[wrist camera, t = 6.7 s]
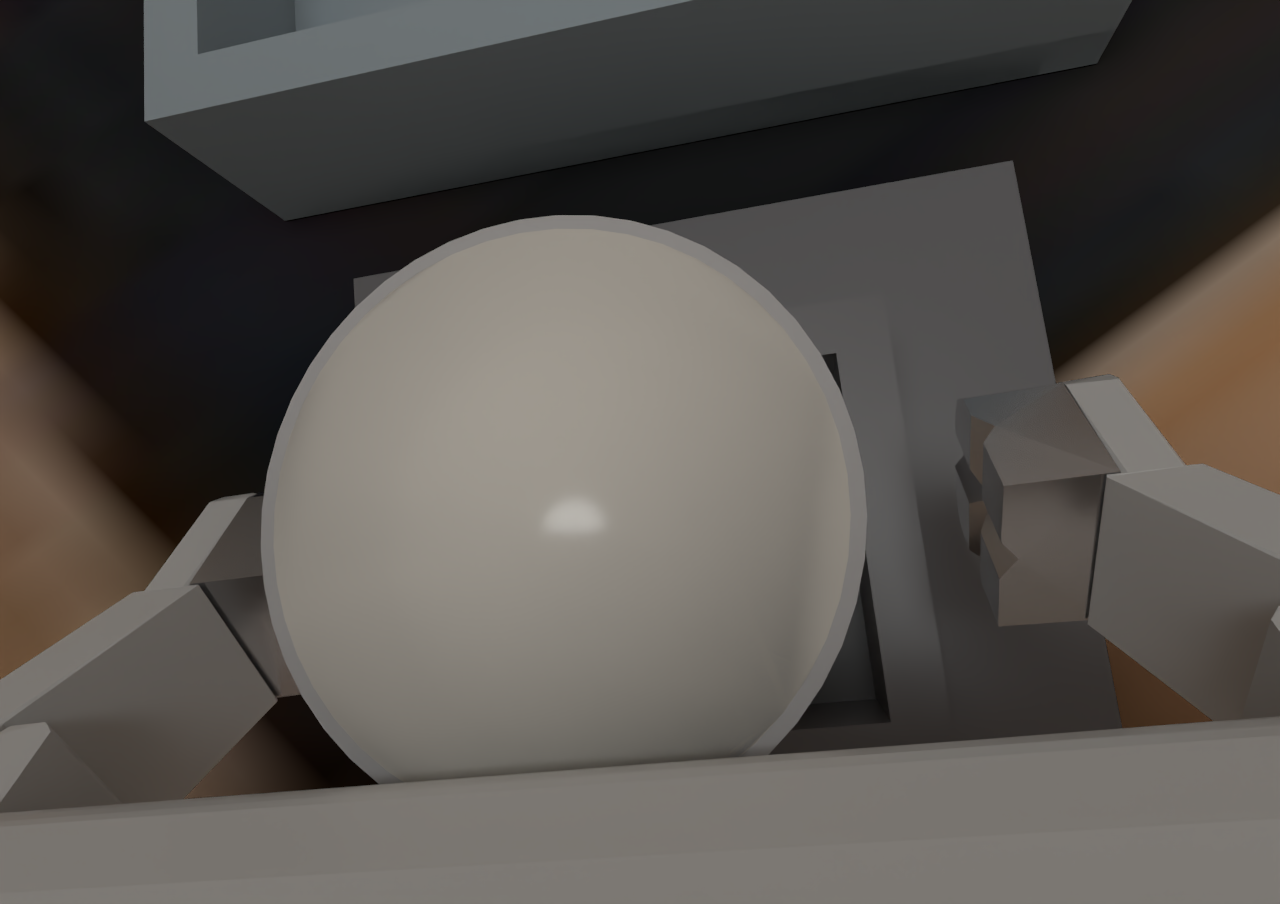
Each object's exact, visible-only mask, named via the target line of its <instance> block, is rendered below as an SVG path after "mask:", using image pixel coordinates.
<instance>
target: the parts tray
mask: <svg viewBox="0 0 1280 904" xmlns="http://www.w3.org/2000/svg"><path fill="white" fill-rule="evenodd" d="M1131 1H1132V0H144V118H145V122H146V123H147V124H149V125H150V126H152V127H153V128H155V129H156V130H157V131H159V132H160V133H162V134H163V135H164V136H166V137H167V138H169V139H170V140H171V141H173V142H174V143H176V144H177V145H179V146H180V147H181V148H183V149H184V150H186V151H187V152H188V153H190V154H191V155H193V156H194V157H196V158H197V159H198V160H200V161H201V162H203V163H204V164H205V165H207V166H208V167H210V168H211V169H213V170H214V171H215V172H217V173H218V174H220V175H221V176H222V177H224V178H225V179H227V180H228V181H230V182H231V183H232V184H234V185H235V186H237V187H238V188H239V189H241V190H242V191H244V192H245V193H246V194H248V195H249V196H251V197H252V198H254V199H255V200H256V201H258V202H259V203H261V204H262V205H263V206H265V207H266V208H268V209H269V210H271V211H272V212H273V213H275V214H276V215H278V216H279V217H280V218H282V219H283V220H285V221H287V220H292V219H297V218H302V217H308V216H313V215H318V214H323V213H328V212H333V211H339V210H344V209H349V208H354V207H359V206H364V205H370V204H375V203H380V202H385V201H390V200H395V199H400V198H406V197H411V196H416V195H421V194H426V193H431V192H437V191H442V190H447V189H452V188H457V187H462V186H468V185H473V184H478V183H483V182H488V181H493V180H498V179H504V178H509V177H514V176H519V175H524V174H529V173H535V172H540V171H545V170H550V169H555V168H560V167H566V166H571V165H576V164H581V163H586V162H591V161H596V160H602V159H607V158H612V157H617V156H622V155H627V154H633V153H638V152H643V151H648V150H653V149H658V148H664V147H669V146H674V145H679V144H684V143H689V142H695V141H700V140H705V139H710V138H715V137H720V136H725V135H731V134H736V133H741V132H746V131H751V130H756V129H762V128H767V127H772V126H777V125H782V124H787V123H793V122H798V121H803V120H808V119H813V118H818V117H823V116H829V115H834V114H839V113H844V112H849V111H854V110H860V109H865V108H870V107H875V106H880V105H885V104H891V103H896V102H901V101H906V100H911V99H916V98H921V97H927V96H932V95H937V94H942V93H947V92H952V91H958V90H963V89H968V88H973V87H978V86H983V85H989V84H994V83H999V82H1004V81H1009V80H1014V79H1019V78H1025V77H1030V76H1035V75H1040V74H1045V73H1050V72H1056V71H1061V70H1066V69H1071V68H1076V67H1081V66H1087V65H1092V64H1097V62H1098V61H1099V59H1100V57H1101V55H1102V53H1103V52H1104V50H1105V48H1106V46H1107V44H1108V43H1109V41H1110V39H1111V37H1112V35H1113V34H1114V32H1115V30H1116V28H1117V26H1118V25H1119V23H1120V21H1121V19H1122V17H1123V16H1124V14H1125V12H1126V10H1127V8H1128V7H1129V5H1130V3H1131Z"/></svg>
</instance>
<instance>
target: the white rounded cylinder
mask: <svg viewBox="0 0 1280 904" xmlns="http://www.w3.org/2000/svg"><path fill="white" fill-rule="evenodd" d="M866 528H867V507H866V494H865V482H864V471H863V466H862V462H861V457H860V453H859V448H858V444H857V439H856V435H855V430H854V427H853V425H852V422H851V419H850V416H849V414H848V411H847V408H846V406H845V403H844V400H843V397H842V395H841V392H840V389H839V388H838V386H837V384H836V382H835V380H834V378H833V376H832V374H831V373H830V371H829V369H828V367H827V365H826V363H825V361H824V359H823V357H822V356H821V354H820V352H819V351H818V349H817V348H816V347H815V345H814V344H813V342H812V341H811V340H810V338H809V337H808V336H807V334H806V333H805V331H804V330H803V329H802V327H801V326H800V324H799V323H798V322H797V320H796V319H795V318H794V317H793V316H792V315H791V314H790V313H789V312H788V311H787V310H786V309H785V308H784V307H783V306H782V304H781V303H780V302H779V301H778V300H777V299H776V298H775V297H774V296H773V295H772V294H771V293H770V292H769V291H768V290H767V289H766V288H764V287H763V286H762V285H761V284H759V283H758V282H757V281H756V280H754V279H753V278H752V277H751V276H749V275H748V274H747V273H746V272H744V271H743V270H742V269H741V268H739V267H738V266H737V265H735V264H733V263H731V262H730V261H728V260H726V259H725V258H723V257H721V256H720V255H718V254H716V253H715V252H713V251H711V250H710V249H708V248H706V247H705V246H703V245H700V244H698V243H696V242H693V241H691V240H689V239H686V238H684V237H682V236H679V235H677V234H674V233H672V232H670V231H667V230H663V229H660V228H656V227H652V226H649V225H645V224H642V223H638V222H634V221H630V220H623V219H615V218H608V217H601V216H587V215H554V216H546V217H538V218H530V219H521V220H516V221H512V222H508V223H504V224H500V225H496V226H492V227H488V228H484V229H481V230H479V231H476V232H474V233H471V234H468V235H466V236H463V237H461V238H458V239H455V240H453V241H450V242H448V243H446V244H444V245H442V246H440V247H438V248H437V249H435V250H433V251H431V252H429V253H427V254H425V255H423V256H422V257H420V258H418V259H416V260H414V261H413V262H412V263H410V264H409V265H407V266H406V267H404V268H403V269H401V270H400V271H399V272H397V273H396V274H394V275H393V276H391V277H390V278H389V279H387V280H386V281H384V282H383V283H382V284H381V285H380V286H379V287H378V288H377V289H375V290H374V291H373V292H372V293H371V294H370V295H369V296H368V297H366V298H365V299H364V300H363V301H362V302H361V303H360V304H359V305H357V306H356V307H355V309H354V310H353V311H352V312H351V313H350V314H349V315H348V316H347V318H346V319H345V320H344V321H343V322H342V323H341V324H340V325H339V327H338V328H337V329H336V330H335V331H334V332H333V333H332V334H331V336H330V337H329V339H328V340H327V342H326V343H325V344H324V346H323V347H322V349H321V350H320V352H319V353H318V354H317V356H316V357H315V359H314V360H313V362H312V363H311V364H310V366H309V368H308V370H307V372H306V373H305V375H304V377H303V379H302V381H301V383H300V385H299V386H298V388H297V390H296V392H295V394H294V396H293V397H292V399H291V402H290V404H289V407H288V409H287V412H286V414H285V417H284V419H283V422H282V424H281V427H280V429H279V432H278V435H277V438H276V442H275V446H274V449H273V453H272V457H271V460H270V464H269V468H268V472H267V478H266V485H265V492H264V498H263V505H262V520H261V558H262V569H263V580H264V589H265V593H266V598H267V603H268V607H269V612H270V617H271V622H272V626H273V628H274V631H275V634H276V637H277V640H278V643H279V646H280V649H281V652H282V655H283V657H284V660H285V663H286V665H287V667H288V669H289V671H290V673H291V675H292V677H293V679H294V681H295V683H296V685H297V687H298V689H299V691H300V693H301V695H302V697H303V698H304V700H305V701H306V703H307V704H308V706H309V707H310V709H311V710H312V712H313V713H314V715H315V716H316V718H317V719H318V721H319V722H320V724H321V725H322V727H323V728H324V730H325V731H326V732H327V733H328V734H329V735H330V737H331V738H332V739H333V740H334V741H335V742H336V743H337V745H338V746H339V747H340V748H341V749H342V750H343V751H344V753H345V754H346V755H347V756H348V757H349V758H350V759H351V760H352V761H353V762H354V763H355V764H356V765H358V766H359V767H360V768H361V769H362V770H363V771H365V772H366V773H367V774H368V775H369V776H370V777H371V778H373V779H374V780H375V781H376V782H377V783H378V784H391V783H404V782H417V781H430V780H443V779H456V778H470V777H483V776H496V775H509V774H522V773H535V772H548V771H561V770H575V769H588V768H601V767H614V766H627V765H640V764H653V763H666V762H680V761H693V760H707V759H720V758H734V757H748V756H761V755H769V754H770V753H771V751H772V750H773V749H774V748H775V747H776V746H777V745H778V744H779V743H780V741H781V740H782V739H783V738H784V737H785V736H786V735H787V734H788V733H789V731H790V730H791V729H792V728H793V727H794V726H795V725H796V724H797V722H798V721H799V719H800V718H801V716H802V715H803V714H804V712H805V711H806V709H807V708H808V706H809V705H810V703H811V702H812V700H813V699H814V697H815V696H816V694H817V693H818V691H819V690H820V688H821V687H822V685H823V683H824V681H825V679H826V677H827V675H828V673H829V671H830V669H831V667H832V665H833V663H834V661H835V659H836V657H837V655H838V653H839V651H840V649H841V647H842V645H843V642H844V639H845V636H846V633H847V630H848V627H849V624H850V621H851V618H852V615H853V612H854V609H855V606H856V603H857V598H858V593H859V587H860V582H861V577H862V572H863V566H864V561H865V547H866Z"/></svg>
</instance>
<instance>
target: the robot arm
mask: <svg viewBox="0 0 1280 904" xmlns="http://www.w3.org/2000/svg"><path fill="white" fill-rule="evenodd" d="M955 434H956V436H957V438H958V441H959V443H960V446H961V448H962V451H963V453H964V455H963V456H962V458H961V459H960V460H959V461H958V463H957V464H956V465H955V487H956V498H957V506H958V514H959V518H960V522H961V526H962V530H963V534H964V537H965V539H966V542H967V545H968V548H969V550H970V551H972V552H973V553H975V554H977V555H978V556H980V581H981V583H982V586H983V588H984V591H985V594H986V596H987V599H988V601H989V604H990V607H991V609H992V612H993V615H994V617H995V620H996V622H997V625H998V627H999V626H1013V625H1027V624H1042V623H1056V622H1070V621H1084V620H1088V625H1089V626H1091V627H1092V628H1093V629H1095V630H1096V631H1097V632H1099V633H1100V634H1101V635H1102V636H1104V637H1105V638H1106V639H1108V640H1109V641H1110V642H1111V643H1113V644H1114V645H1115V646H1117V647H1118V648H1119V649H1121V650H1122V651H1123V652H1124V653H1126V654H1127V655H1128V656H1130V657H1131V658H1132V659H1134V660H1135V661H1136V662H1137V663H1139V664H1140V665H1141V666H1143V667H1144V668H1145V669H1147V670H1148V671H1149V672H1150V673H1152V674H1153V675H1154V676H1156V677H1157V678H1158V679H1159V680H1161V681H1162V682H1163V683H1165V684H1166V685H1167V686H1169V687H1170V688H1171V689H1172V690H1174V691H1175V692H1176V693H1178V694H1179V695H1180V696H1182V697H1183V698H1184V699H1185V700H1187V701H1188V702H1189V703H1191V704H1192V705H1193V706H1194V707H1196V708H1197V709H1198V710H1200V711H1201V712H1202V713H1204V714H1205V715H1206V716H1207V717H1209V718H1210V719H1211V720H1213V721H1211V722H1197V723H1184V724H1171V725H1158V726H1145V727H1132V728H1120V729H1107V730H1094V731H1081V732H1068V733H1055V734H1043V735H1030V736H1017V737H1004V738H991V739H979V740H965V741H951V742H938V743H924V744H911V745H897V746H883V747H870V748H856V749H843V750H829V751H816V752H802V753H788V754H775V755H761V756H748V757H734V758H720V759H707V760H693V761H680V762H666V763H653V764H640V765H627V766H614V767H601V768H588V769H575V770H561V771H548V772H535V773H522V774H509V775H496V776H483V777H470V778H456V779H443V780H430V781H417V782H404V783H391V784H378V785H365V786H351V787H338V788H325V789H312V790H299V791H285V792H272V793H259V794H246V795H232V796H219V797H206V798H193V799H184V798H185V797H186V796H187V795H188V794H189V793H190V792H191V790H192V789H193V788H194V787H195V786H196V785H197V784H198V783H199V782H200V781H201V780H202V779H203V778H204V777H205V776H206V775H207V774H208V773H209V772H210V771H211V770H212V769H213V768H214V767H215V766H216V765H217V763H218V762H219V761H220V760H221V759H222V758H223V757H224V756H225V755H226V754H227V753H228V752H229V751H230V750H231V749H232V748H233V747H234V746H235V745H236V744H237V743H238V742H239V741H240V740H241V739H242V738H243V736H244V735H245V734H246V733H247V732H248V731H249V730H250V729H251V728H252V727H253V726H254V725H255V724H256V723H257V722H258V721H259V720H260V719H261V718H262V717H263V716H264V715H265V714H266V713H267V712H268V710H269V709H270V708H271V707H272V706H273V705H274V704H275V703H276V702H277V698H276V697H284V696H292V695H300V694H301V693H300V691H299V689H298V687H297V685H296V683H295V681H294V679H293V677H292V675H291V673H290V671H289V669H288V667H287V665H286V663H285V660H284V657H283V655H282V652H281V649H280V646H279V643H278V640H277V637H276V634H275V631H274V628H273V626H272V622H271V617H270V612H269V607H268V603H267V598H266V593H265V589H264V580H263V569H262V558H261V520H262V505H263V498H264V492H259V493H257V494H256V493H249V494H243V495H236V496H229V497H222V498H220V499H217V500H214V501H212V502H209V504H208V505H207V506H206V508H205V509H204V511H203V512H202V513H201V515H200V516H199V517H198V519H197V520H196V521H195V523H194V524H193V525H192V527H191V528H190V530H189V531H188V532H187V534H186V535H185V536H184V538H183V539H182V540H181V542H180V543H179V545H178V546H177V547H176V549H175V550H174V551H173V553H172V554H171V555H170V557H169V558H168V559H167V561H166V562H165V564H164V565H163V566H162V568H161V569H160V570H159V572H158V573H157V574H156V576H155V577H154V579H153V580H152V581H151V583H150V584H149V585H148V587H147V588H146V589H145V591H140V592H133V593H131V594H129V595H128V596H126V597H125V598H123V599H122V600H120V601H119V602H117V603H116V604H114V605H113V606H111V607H110V608H108V609H107V610H105V611H104V612H102V613H101V614H99V615H98V616H96V617H95V618H93V619H91V620H90V621H88V622H87V623H85V624H84V625H82V626H81V627H79V628H78V629H76V630H75V631H73V632H72V633H70V634H69V635H67V636H66V637H64V638H63V639H61V640H60V641H58V642H57V643H55V644H54V645H52V646H51V647H49V648H48V649H46V650H45V651H43V652H42V653H40V654H39V655H37V656H35V657H34V658H32V659H31V660H29V661H28V662H26V663H25V664H23V665H22V666H20V667H19V668H17V669H16V670H14V671H13V672H11V673H10V674H8V675H7V676H5V677H4V678H2V679H1V680H0V904H1280V495H1279V494H1276V493H1274V492H1271V491H1269V490H1266V489H1264V488H1261V487H1259V486H1257V485H1254V484H1252V483H1249V482H1247V481H1244V480H1242V479H1239V478H1237V477H1235V476H1232V475H1230V474H1227V473H1225V472H1222V471H1220V470H1217V469H1215V468H1212V467H1210V466H1208V465H1205V464H1195V465H1186V464H1185V463H1184V462H1183V461H1182V459H1181V458H1180V457H1179V455H1178V454H1177V453H1176V451H1175V450H1174V449H1173V448H1172V446H1171V445H1170V444H1169V442H1168V441H1167V440H1166V439H1165V437H1164V436H1163V435H1162V433H1161V432H1160V431H1159V430H1158V428H1157V427H1156V426H1155V424H1154V423H1153V422H1152V420H1151V419H1150V418H1149V417H1148V415H1147V414H1146V413H1145V411H1144V410H1143V409H1142V408H1141V406H1140V405H1139V404H1138V402H1137V401H1136V400H1135V399H1134V397H1133V396H1132V395H1131V393H1130V392H1129V391H1128V389H1127V388H1126V387H1125V386H1124V384H1123V383H1122V382H1121V380H1120V379H1119V378H1118V377H1116V376H1113V375H1111V374H1107V375H1101V376H1095V377H1089V378H1084V379H1078V380H1072V381H1066V382H1060V383H1058V384H1053V385H1046V386H1040V387H1033V388H1027V389H1020V390H1014V391H1007V392H1001V393H994V394H988V395H982V396H975V397H969V398H962V399H957V405H956V410H955Z"/></svg>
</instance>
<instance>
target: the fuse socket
mask: <svg viewBox="0 0 1280 904" xmlns="http://www.w3.org/2000/svg"><path fill="white" fill-rule="evenodd" d="M650 226H652V227H656V228H660V229H663V230H667V231H670V232H672V233H674V234H677V235H679V236H682V237H684V238H686V239H689V240H691V241H693V242H696V243H698V244H700V245H703V246H705V247H706V248H708V249H710V250H711V251H713V252H715V253H716V254H718V255H720V256H721V257H723V258H725V259H726V260H728V261H730V262H731V263H733V264H735V265H737V266H738V267H739V268H741V269H742V270H743V271H744V272H746V273H747V274H748V275H749V276H751V277H752V278H753V279H754V280H756V281H757V282H758V283H759V284H761V285H762V286H763V287H764V288H766V289H767V290H768V291H769V292H770V293H771V294H772V295H773V296H774V297H775V298H776V299H777V300H778V301H779V302H780V303H781V304H782V306H783V307H784V308H785V309H786V310H787V311H788V312H789V313H790V314H791V315H792V316H793V317H794V318H795V319H796V320H797V322H798V323H799V324H800V326H801V327H802V329H803V330H804V331H805V333H806V334H807V336H808V337H809V338H810V340H811V341H812V342H813V344H814V345H815V347H816V348H817V349H818V351H819V352H820V354H821V356H822V357H823V359H824V361H825V363H826V365H827V367H828V369H829V371H830V373H831V374H832V376H833V378H834V380H835V382H836V384H837V386H838V388H839V389H840V392H841V395H842V397H843V400H844V403H845V406H846V408H847V411H848V414H849V416H850V419H851V422H852V425H853V427H854V430H855V435H856V439H857V444H858V448H859V453H860V457H861V462H862V466H863V471H864V482H865V494H866V507H867V528H866V547H865V561H864V566H863V572H862V577H861V582H860V587H859V593H858V598H857V603H856V606H855V609H854V612H853V615H852V618H851V621H850V624H849V627H848V630H847V633H846V636H845V639H844V642H843V645H842V647H841V649H840V651H839V653H838V655H837V657H836V659H835V661H834V663H833V665H832V667H831V669H830V671H829V673H828V675H827V677H826V679H825V681H824V683H823V685H822V687H821V688H820V690H819V691H818V693H817V694H816V696H815V697H814V699H813V700H812V702H811V703H810V705H809V706H808V708H807V709H806V711H805V712H804V714H803V715H802V716H801V718H800V719H799V721H798V722H797V724H796V725H795V726H794V727H793V728H792V729H791V730H790V731H789V733H788V734H787V735H786V736H785V737H784V738H783V739H782V740H781V741H780V743H779V744H778V745H777V746H776V747H775V748H774V749H773V750H772V751H771V753H770V754H769V755H775V754H788V753H802V752H816V751H829V750H843V749H856V748H870V747H883V746H897V745H911V744H924V743H938V742H951V741H965V740H979V739H991V738H1004V737H1017V736H1030V735H1043V734H1055V733H1068V732H1081V731H1094V730H1107V729H1120V728H1122V724H1121V719H1120V714H1119V709H1118V703H1117V698H1116V693H1115V688H1114V683H1113V677H1112V672H1111V667H1110V662H1109V657H1108V652H1107V646H1106V641H1105V637H1104V636H1102V635H1101V634H1100V633H1099V632H1097V631H1096V630H1095V629H1093V628H1092V627H1091V626H1089V625H1088V620H1084V621H1070V622H1056V623H1042V624H1027V625H1013V626H999V627H998V625H997V622H996V620H995V617H994V615H993V612H992V609H991V607H990V604H989V601H988V599H987V596H986V594H985V591H984V588H983V586H982V583H981V581H980V556H978V555H977V554H975V553H973V552H972V551H970V550H969V548H968V545H967V542H966V539H965V537H964V534H963V530H962V526H961V522H960V518H959V514H958V506H957V498H956V487H955V465H956V464H957V463H958V461H959V460H960V459H961V458H962V456H963V455H964V453H963V451H962V448H961V446H960V443H959V441H958V438H957V436H956V434H955V410H956V405H957V399H962V398H969V397H975V396H982V395H988V394H994V393H1001V392H1007V391H1014V390H1020V389H1027V388H1033V387H1040V386H1046V385H1053V384H1056V382H1055V377H1054V372H1053V367H1052V361H1051V356H1050V351H1049V346H1048V341H1047V335H1046V330H1045V325H1044V320H1043V315H1042V310H1041V304H1040V299H1039V294H1038V289H1037V284H1036V278H1035V273H1034V268H1033V263H1032V258H1031V253H1030V247H1029V242H1028V237H1027V232H1026V227H1025V221H1024V216H1023V211H1022V206H1021V201H1020V195H1019V190H1018V185H1017V180H1016V175H1015V170H1014V164H1013V161H1007V162H1002V163H996V164H991V165H985V166H980V167H974V168H968V169H963V170H957V171H952V172H946V173H940V174H935V175H929V176H924V177H918V178H913V179H907V180H901V181H896V182H890V183H885V184H879V185H873V186H868V187H862V188H857V189H851V190H846V191H840V192H834V193H829V194H823V195H818V196H812V197H807V198H801V199H795V200H790V201H784V202H779V203H773V204H767V205H762V206H756V207H751V208H745V209H740V210H734V211H728V212H723V213H717V214H712V215H706V216H701V217H695V218H689V219H684V220H678V221H673V222H667V223H661V224H656V225H650ZM399 271H400V270H399ZM399 271H394V272H388V273H382V274H377V275H371V276H366V277H360V278H355V279H354V297H355V307H356V306H357V305H359V304H360V303H361V302H362V301H363V300H364V299H365V298H366V297H368V296H369V295H370V294H371V293H372V292H373V291H374V290H375V289H377V288H378V287H379V286H380V285H381V284H382V283H383V282H384V281H386V280H387V279H389V278H390V277H391V276H393V275H394V274H396V273H397V272H399Z"/></svg>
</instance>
